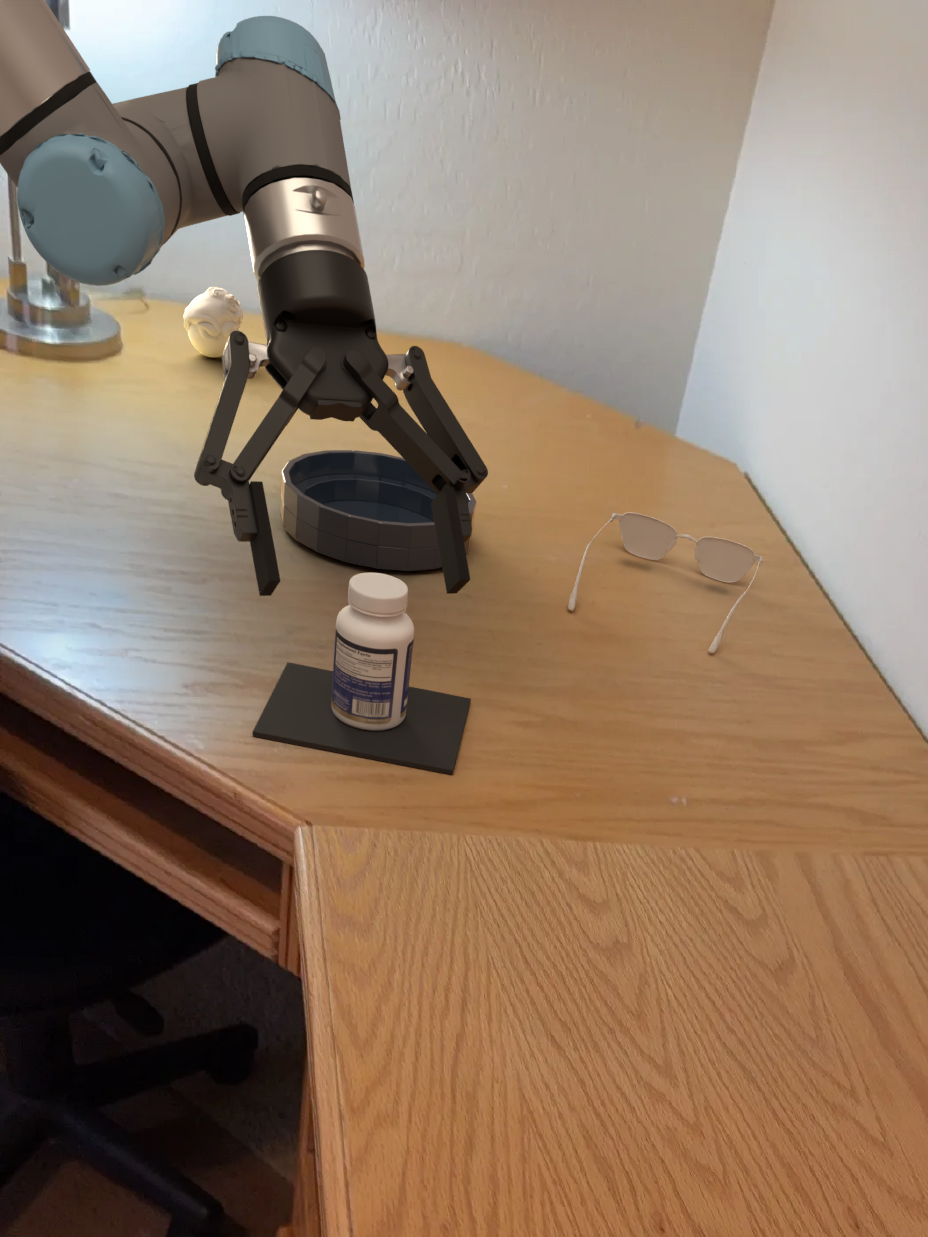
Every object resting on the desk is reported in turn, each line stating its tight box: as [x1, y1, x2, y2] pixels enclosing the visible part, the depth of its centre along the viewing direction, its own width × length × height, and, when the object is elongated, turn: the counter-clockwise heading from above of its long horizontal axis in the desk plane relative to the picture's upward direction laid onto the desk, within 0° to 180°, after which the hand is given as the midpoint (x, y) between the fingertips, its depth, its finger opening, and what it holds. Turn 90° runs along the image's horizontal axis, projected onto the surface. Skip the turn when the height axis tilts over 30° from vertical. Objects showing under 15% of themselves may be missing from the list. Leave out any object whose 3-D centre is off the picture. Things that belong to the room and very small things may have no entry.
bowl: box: [279, 449, 477, 572], centre depth 117 cm, size 17×17×4 cm
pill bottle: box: [331, 572, 415, 731], centre depth 90 cm, size 5×5×10 cm
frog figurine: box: [182, 286, 244, 358], centre depth 145 cm, size 6×7×7 cm
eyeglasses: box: [567, 511, 764, 655], centre depth 119 cm, size 15×18×4 cm
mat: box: [252, 661, 472, 776], centre depth 93 cm, size 14×11×1 cm
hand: (367, 588), depth 88 cm, fingers open, 13 cm apart
